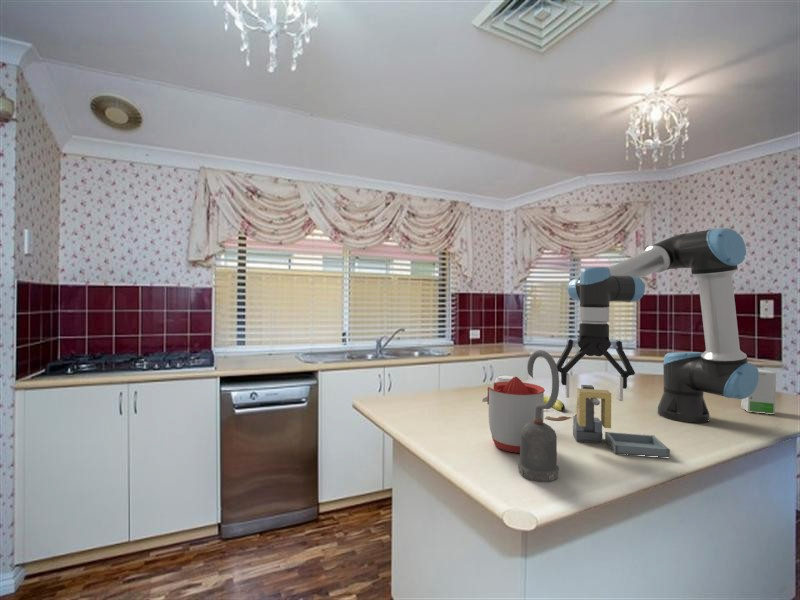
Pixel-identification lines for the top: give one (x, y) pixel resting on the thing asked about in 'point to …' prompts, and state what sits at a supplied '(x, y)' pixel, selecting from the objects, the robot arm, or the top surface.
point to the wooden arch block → (605, 405)
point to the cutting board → (557, 406)
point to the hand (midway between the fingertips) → (593, 398)
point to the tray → (636, 444)
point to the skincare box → (762, 394)
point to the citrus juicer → (512, 411)
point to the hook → (540, 434)
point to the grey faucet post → (588, 423)
